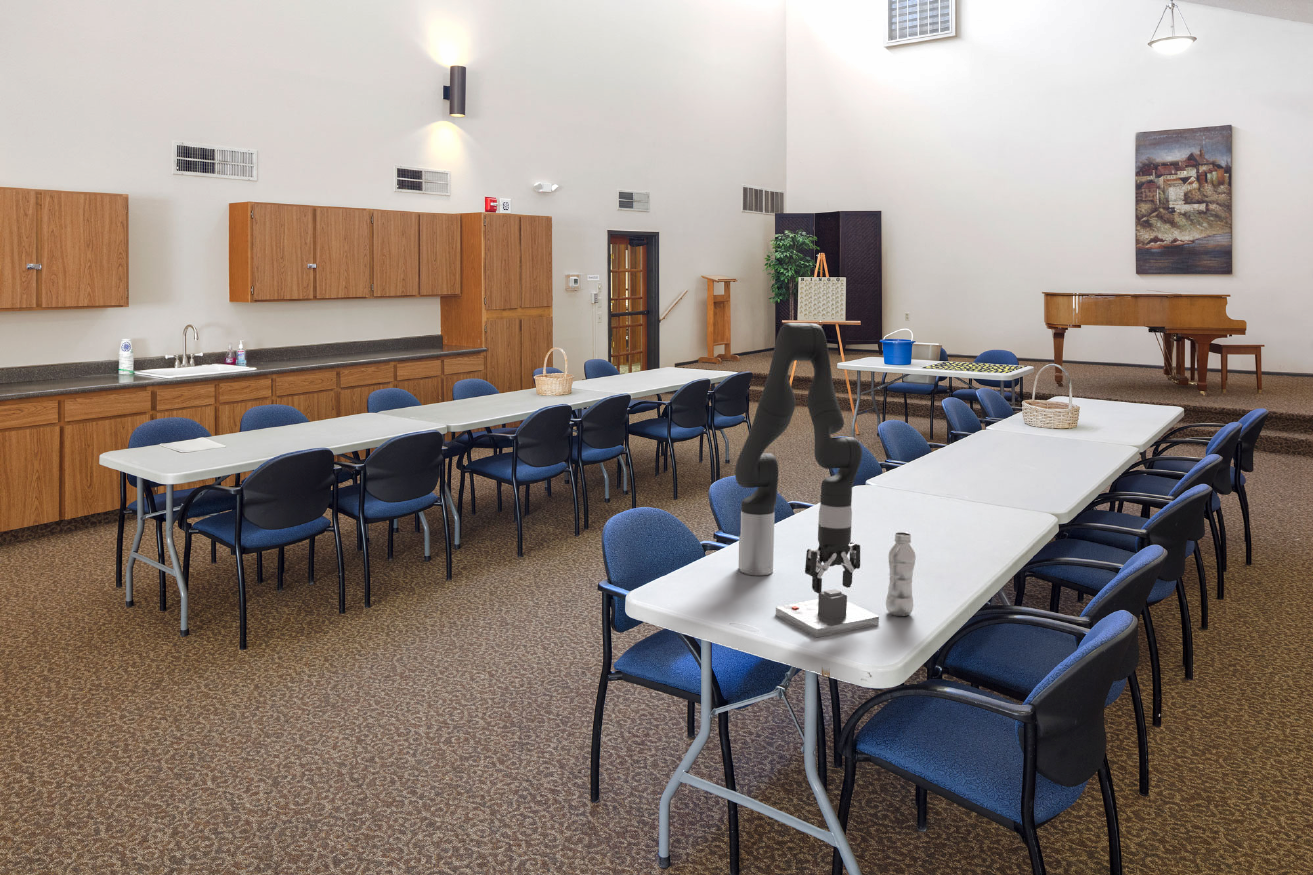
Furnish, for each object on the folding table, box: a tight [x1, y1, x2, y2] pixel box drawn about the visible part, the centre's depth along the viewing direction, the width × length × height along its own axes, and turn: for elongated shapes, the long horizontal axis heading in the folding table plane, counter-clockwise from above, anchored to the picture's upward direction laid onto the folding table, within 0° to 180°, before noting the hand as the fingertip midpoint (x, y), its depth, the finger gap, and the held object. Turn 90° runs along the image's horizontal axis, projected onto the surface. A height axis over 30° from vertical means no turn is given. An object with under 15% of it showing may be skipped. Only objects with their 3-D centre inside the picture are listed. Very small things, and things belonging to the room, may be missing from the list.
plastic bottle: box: [885, 531, 917, 617], centre depth 213 cm, size 6×7×20 cm
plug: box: [818, 588, 848, 619], centre depth 208 cm, size 5×4×8 cm
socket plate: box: [775, 599, 880, 638], centre depth 211 cm, size 16×18×3 cm
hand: (831, 589), depth 208 cm, fingers open, 8 cm apart
